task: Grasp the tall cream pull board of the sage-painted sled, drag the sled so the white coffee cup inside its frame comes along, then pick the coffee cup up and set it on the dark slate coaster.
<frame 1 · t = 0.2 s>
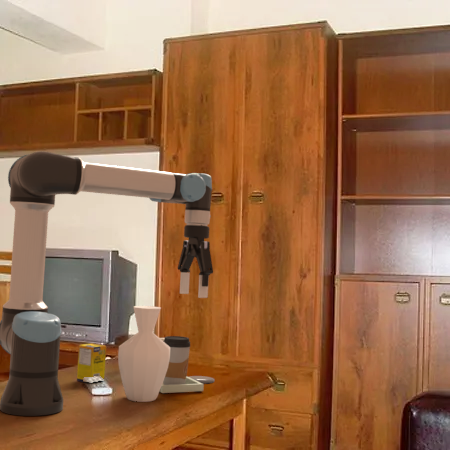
hand: (193, 295, 208), 28 cm above the table, fingers open, 13 cm apart
coaster: (200, 380, 220), on the table
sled: (167, 363, 212), point 6 cm above the table, slide at 0.0 cm
coffee cup: (173, 389, 206), resting in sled
supplement box: (90, 381, 210), on the table
vase: (141, 398, 191), on the table
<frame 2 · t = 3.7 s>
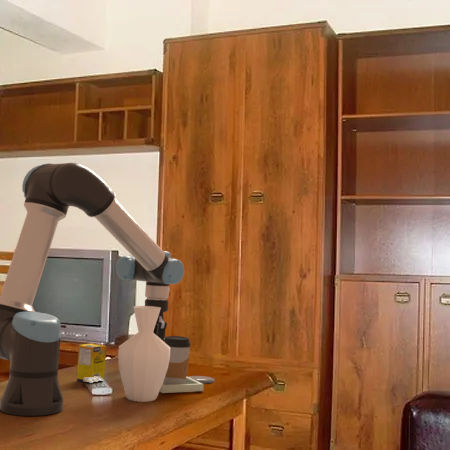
hand: (152, 372, 222), 1 cm above the table, fingers closed on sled, 2 cm apart
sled: (167, 363, 212), point 6 cm above the table, slide at 0.0 cm, touching gripper
everything else where it was.
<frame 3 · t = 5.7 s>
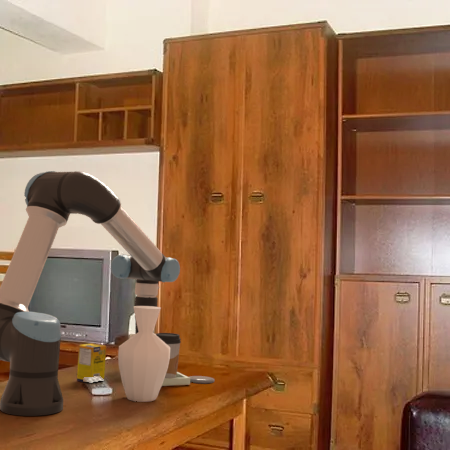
hand: (142, 367, 230), 1 cm above the table, fingers closed on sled, 2 cm apart
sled: (156, 358, 220), point 6 cm above the table, slide at 9.3 cm, touching coffee cup, gripper
coffee cup: (164, 384, 213), resting in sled
everything else where it was.
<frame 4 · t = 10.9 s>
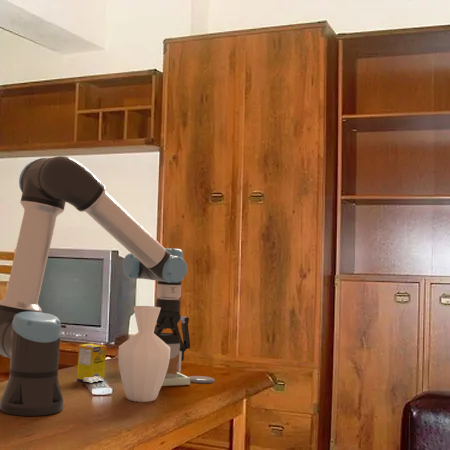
hand: (164, 372, 214), 3 cm above the table, fingers closed on coffee cup, 8 cm apart
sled: (156, 358, 220), point 6 cm above the table, slide at 9.3 cm
coffee cup: (164, 384, 213), resting in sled, touching gripper
everything else where it was.
when the fingers open (5 cm above the table, at t = 16.3 s): coffee cup drops 1 cm, resting on coaster.
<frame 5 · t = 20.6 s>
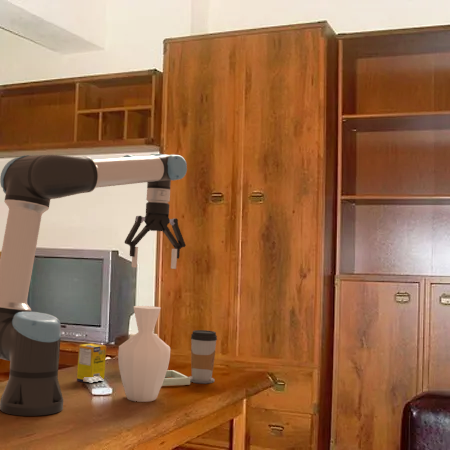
hand: (154, 268, 224), 35 cm above the table, fingers open, 13 cm apart
coffee cup: (201, 379, 220), resting on coaster
everything else where it was.
at the end: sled slide at 9.2 cm; coffee cup 1.0 cm from the coaster (horizontally); coffee cup tilted 0° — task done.
